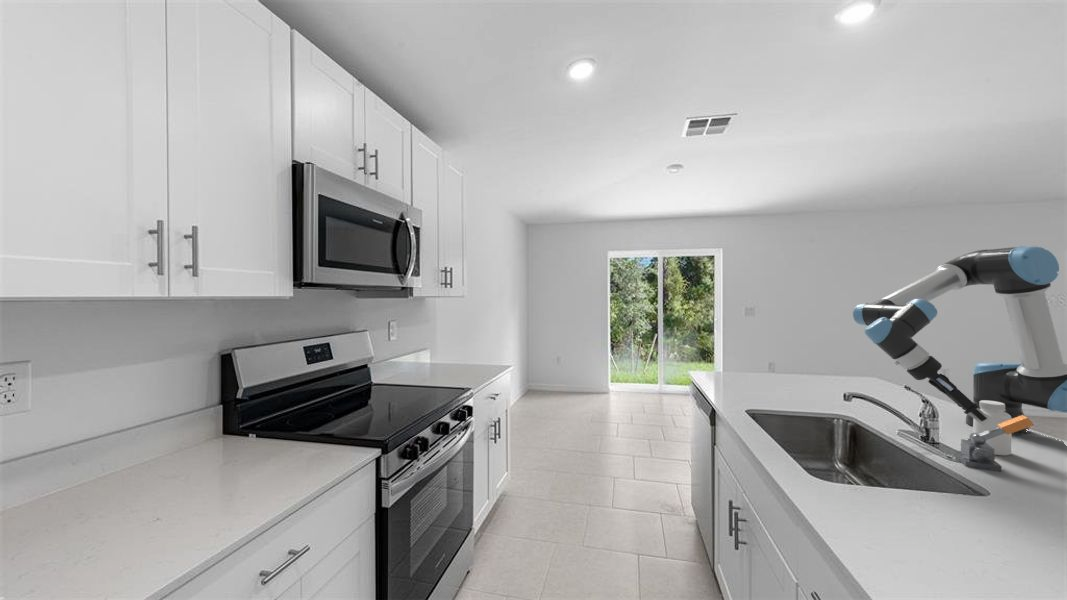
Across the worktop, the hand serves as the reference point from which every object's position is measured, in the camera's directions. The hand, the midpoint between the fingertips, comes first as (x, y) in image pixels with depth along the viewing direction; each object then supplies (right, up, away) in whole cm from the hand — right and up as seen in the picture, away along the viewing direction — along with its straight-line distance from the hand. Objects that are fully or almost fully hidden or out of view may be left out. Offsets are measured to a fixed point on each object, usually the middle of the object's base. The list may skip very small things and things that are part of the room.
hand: (993, 428), depth 117 cm
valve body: (-3, -11, +2) cm, 11 cm away
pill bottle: (+11, -10, +11) cm, 19 cm away
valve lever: (-3, -4, +2) cm, 6 cm away
